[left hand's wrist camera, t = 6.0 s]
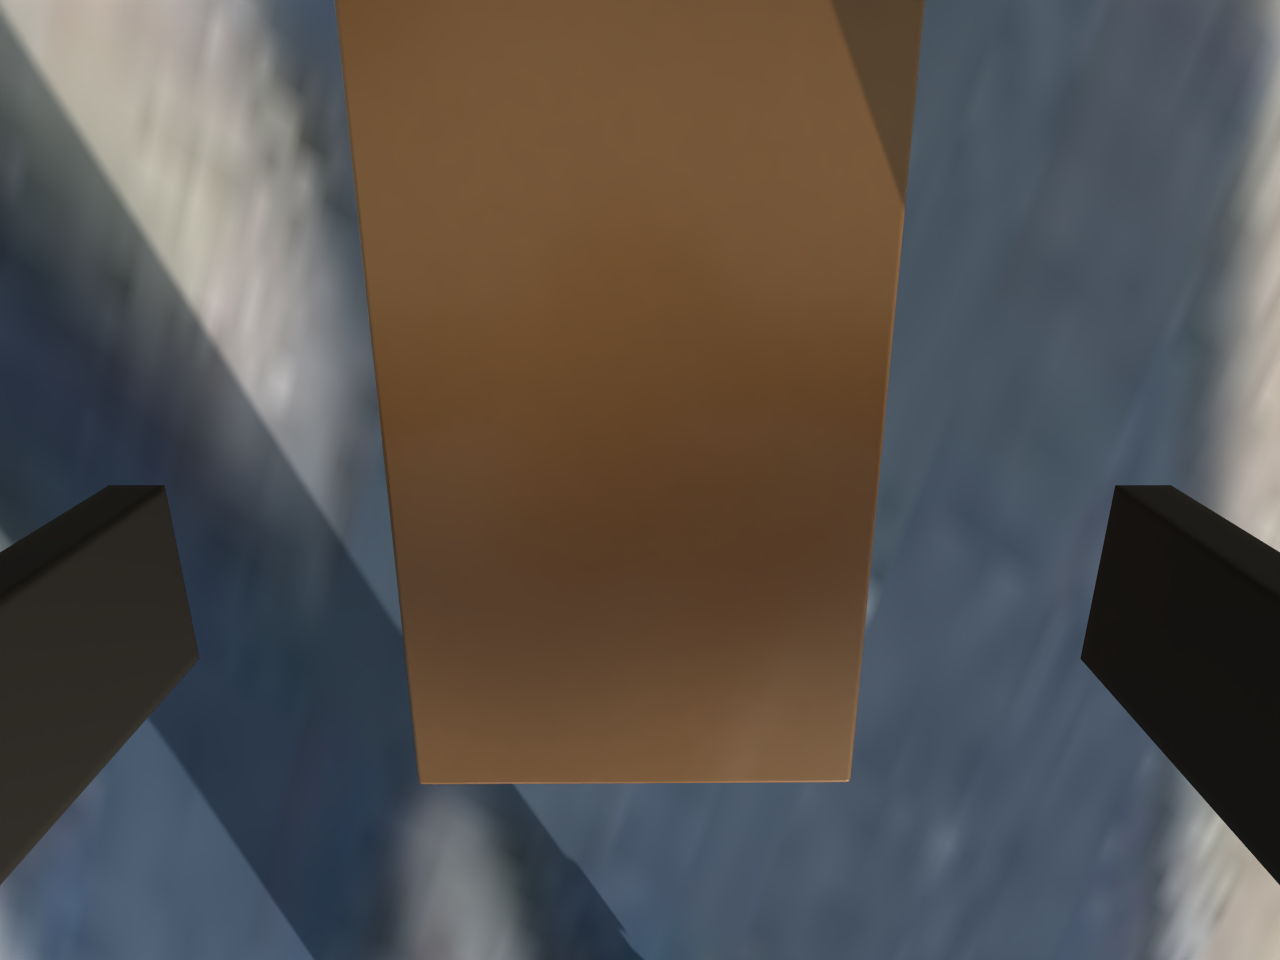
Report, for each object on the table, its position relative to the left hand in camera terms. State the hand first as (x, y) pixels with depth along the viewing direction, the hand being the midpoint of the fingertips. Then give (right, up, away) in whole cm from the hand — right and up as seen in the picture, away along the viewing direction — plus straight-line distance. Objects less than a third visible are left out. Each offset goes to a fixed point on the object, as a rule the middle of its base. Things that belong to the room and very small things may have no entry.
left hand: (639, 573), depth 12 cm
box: (0, +14, +8) cm, 16 cm away
